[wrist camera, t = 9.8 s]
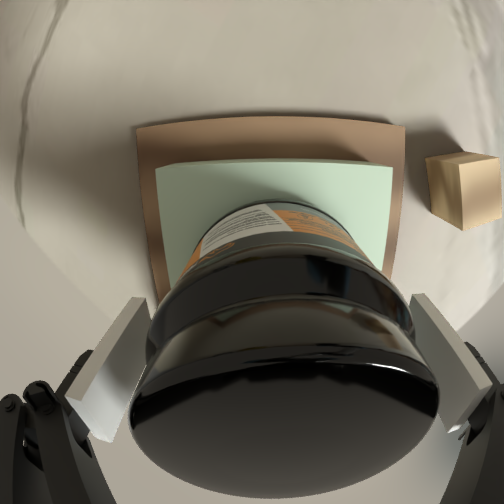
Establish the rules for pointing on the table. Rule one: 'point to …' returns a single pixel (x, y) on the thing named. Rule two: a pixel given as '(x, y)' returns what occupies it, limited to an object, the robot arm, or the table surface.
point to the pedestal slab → (271, 187)
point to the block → (465, 188)
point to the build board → (260, 147)
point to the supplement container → (281, 361)
